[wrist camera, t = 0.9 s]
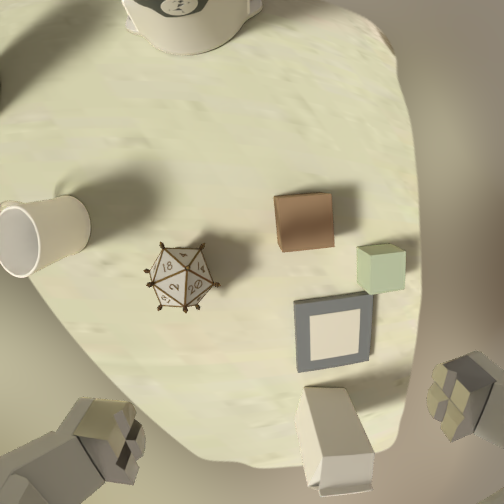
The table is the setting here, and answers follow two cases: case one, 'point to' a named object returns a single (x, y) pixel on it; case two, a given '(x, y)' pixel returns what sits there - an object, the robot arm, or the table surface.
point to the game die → (180, 277)
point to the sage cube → (381, 268)
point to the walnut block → (304, 221)
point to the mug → (41, 233)
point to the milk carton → (333, 443)
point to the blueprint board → (333, 331)
